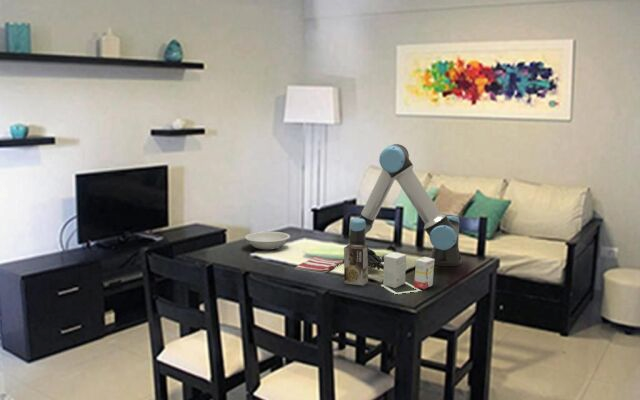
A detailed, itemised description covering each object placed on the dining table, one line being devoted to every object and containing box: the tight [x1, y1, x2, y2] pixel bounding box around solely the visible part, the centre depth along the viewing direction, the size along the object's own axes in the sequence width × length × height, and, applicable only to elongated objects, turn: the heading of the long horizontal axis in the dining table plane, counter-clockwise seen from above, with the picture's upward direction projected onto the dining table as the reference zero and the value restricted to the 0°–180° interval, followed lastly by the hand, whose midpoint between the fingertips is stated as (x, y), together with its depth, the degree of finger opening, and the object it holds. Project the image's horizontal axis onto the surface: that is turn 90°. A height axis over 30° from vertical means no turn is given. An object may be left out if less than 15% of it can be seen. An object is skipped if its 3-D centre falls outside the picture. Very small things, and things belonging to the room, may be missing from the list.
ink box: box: [413, 256, 435, 290], centre depth 260 cm, size 9×5×12 cm, turn 144°
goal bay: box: [380, 281, 423, 295], centre depth 259 cm, size 12×13×1 cm
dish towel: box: [294, 255, 344, 274], centre depth 295 cm, size 17×23×3 cm
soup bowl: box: [244, 231, 291, 250], centre depth 329 cm, size 24×24×7 cm
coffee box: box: [343, 243, 369, 286], centre depth 266 cm, size 9×6×16 cm
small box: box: [382, 252, 407, 289], centre depth 263 cm, size 8×6×13 cm
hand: (388, 269), depth 267 cm, fingers closed
